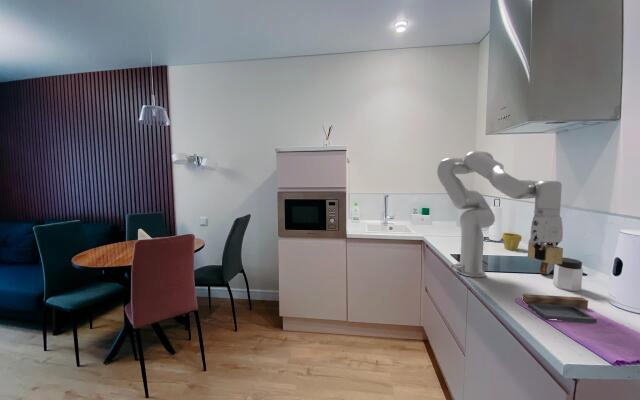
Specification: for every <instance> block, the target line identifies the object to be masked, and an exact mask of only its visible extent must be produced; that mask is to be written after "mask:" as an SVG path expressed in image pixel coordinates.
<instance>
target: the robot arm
mask: <svg viewBox="0 0 640 400" xmlns="http://www.w3.org/2000/svg"><path fill="white" fill-rule="evenodd" d="M504 169H505V167H504V165H503V164H502V163H501V162H499V161H498V160H496V159H495V158H494V157H493V155H492V154H491V153H490V152H487V151H480V150H479V151H477V150H476V151H475V150H473V151H472V150H471V151H470V152H468V153H467V154H465V156H464V158H463V157H462V158H461V157H446V158H444V159H442V160H441V161H440V162H439V164H438V166H437V171H436V174H437V178H438V180H439V182H440V183H441V186H443V188H444V190H445V191H446V192H447V195H448V197H449V199H450V200H451V202H452V204H453V206H454V207H455V208H456V209H458V210H465V211H463V212H462V213H461V215H460V216H459V217H460V218H459V225H460V232H461V233H460V236H461V237H460V257H459V261H458V262H457V263H449V268H453V269H454V270H455V271H456V272H457V273H458V274H460V275H462V276H466V277H470V278H483V277H486V272H485V271H484V270H483V261H484V260H483V257H484V242H485V241H484V239H485V237H484V234H483V230H482V229H486V228H490V227H491V226H492V225H493V226H494V224H495V221H496V218H495V214H494V212H493V210H492V208H491V207H490V206H489V203H488V202H487V200H486V199H485V198H484V196H483V194H481V193H480V192H479V191H477V190H468V189H467V188H466V187H465V185H464V183H463V181H462V180H461V179H460V178H459V177H457V176H456V175H467V174H471V173H472V174H473V173H477V174H478V175H480V176H481V177H483V178H485V179H486V180H488V182H489V183H490V184H491V186H492V187H493V188H495V189H496V190H497V191H498V192H500V193H502V194H504V195H505V196H507V197H509V198H510V199H514V200H522V199H526V200H527V199H534V211H533V213H534V215H533V217H532V222H531V226H530V238H529V240H528V242H529V243H530V244H532V245H533V247H534V249H535V259H534V260H536V259H538V261H540V260H542V261H543V260H544V250H543V247H544V244H547V245H552V246H556V247H558V245H559V244H560V243H561V242H562V241H563V239H564V238H563V234H564V233H563V232H564V231H563V230H564V228H563V226H564V225H563V219H562V216H561V205H562V204H561V203H562V189H563V188H562V187H563V186H562V182H561V181H558V180H539V181H538V180H531V179H530V180H529V179H528V180H524V179H523V180H521V179H518V178H515V177H513V176H512V175H510V174H508V173H507V172H506V171H504ZM538 243H540V245H539V244H538ZM542 261H541V262H542Z"/></svg>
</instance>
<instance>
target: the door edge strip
mask: <svg viewBox="0 0 640 400" xmlns="http://www.w3.org/2000/svg"><path fill="white" fill-rule="evenodd" d="M521 301H524V302H525V303H526V304H528V303H537V304H553V305H569V306H576V307H577V308H579V309H588V306H589V305H588V304H589V300H587V299H586V298H584V297H580V296H579V297H578V296H567V295H566V296H565V295H564V296H563V295H546V294H528V293H523V294H522V300H521ZM524 302H523V303H524ZM525 303H524V304H525ZM526 304H525V305H526Z"/></svg>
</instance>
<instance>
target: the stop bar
mask: <svg viewBox="0 0 640 400" xmlns="http://www.w3.org/2000/svg"><path fill="white" fill-rule="evenodd" d="M538 244H539V245H540V243H538ZM543 250H544V260H543V262H546V263H550V264H553V265H554V266H555V264H562V257H563V255H564V254H563V253H564V248H563V247H559V246H552V245H547V244H546V243H544V247H543ZM527 257H528V258H531V259H534V260H535V261H536V260H538V259H535V249H534V247H533V245H532V244H530V243H529V241H528V246H527ZM563 258H564V257H563ZM538 261H540V262H542V260H538Z"/></svg>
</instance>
